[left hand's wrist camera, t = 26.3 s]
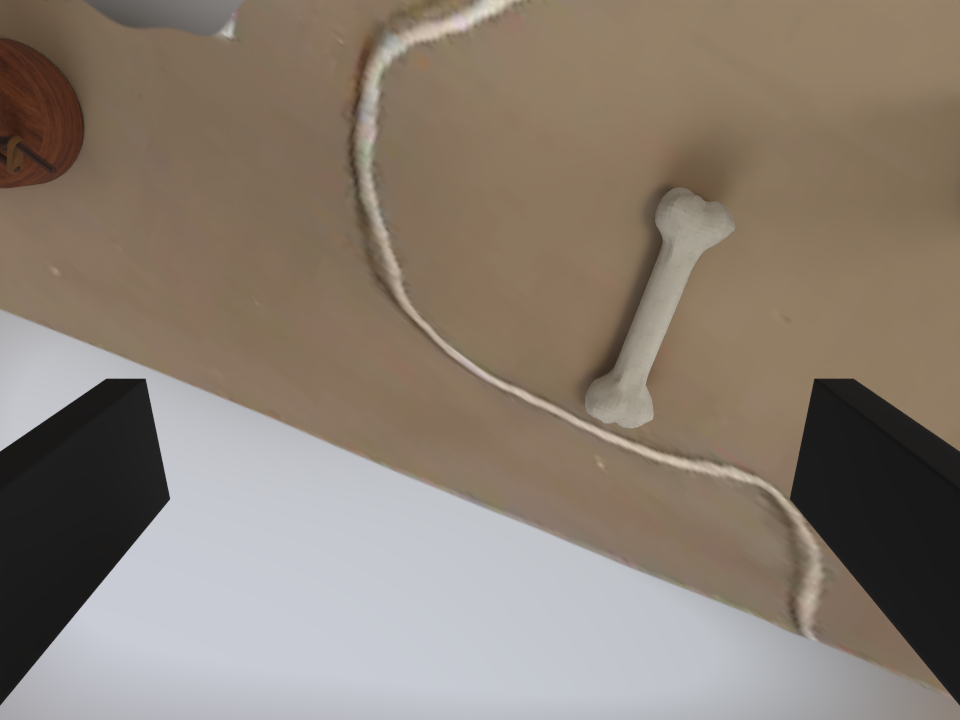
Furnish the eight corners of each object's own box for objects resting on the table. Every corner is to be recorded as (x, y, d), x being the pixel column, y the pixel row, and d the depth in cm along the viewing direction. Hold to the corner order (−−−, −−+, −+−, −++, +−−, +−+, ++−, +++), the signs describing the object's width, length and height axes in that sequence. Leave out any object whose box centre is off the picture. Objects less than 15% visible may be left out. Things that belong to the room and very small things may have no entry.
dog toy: (637, 419, 57) (651, 445, 53) (575, 402, 57) (583, 427, 52) (729, 201, 50) (754, 209, 46) (659, 179, 50) (677, 185, 45)
